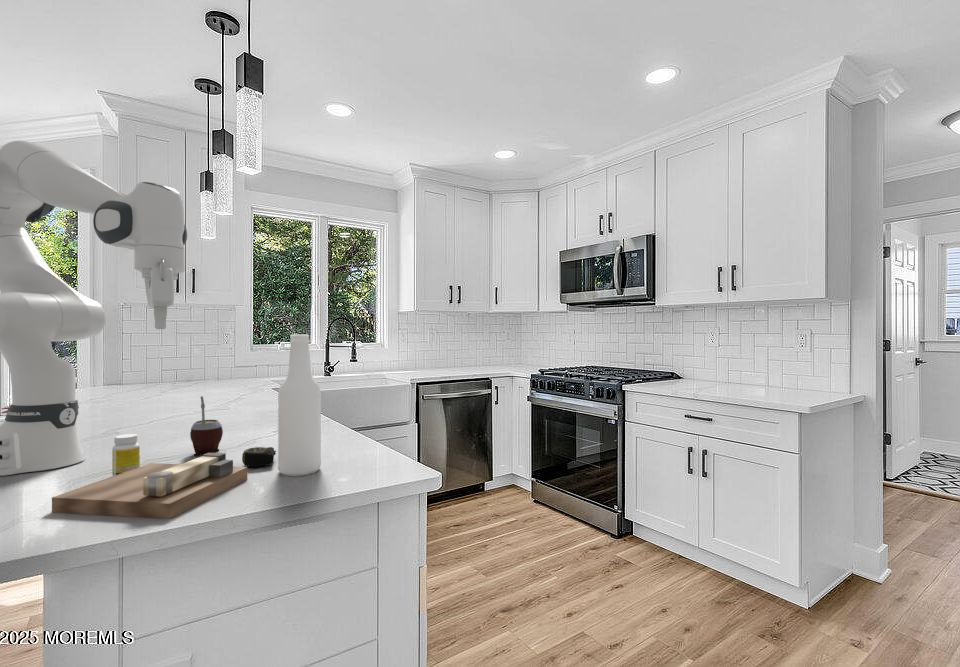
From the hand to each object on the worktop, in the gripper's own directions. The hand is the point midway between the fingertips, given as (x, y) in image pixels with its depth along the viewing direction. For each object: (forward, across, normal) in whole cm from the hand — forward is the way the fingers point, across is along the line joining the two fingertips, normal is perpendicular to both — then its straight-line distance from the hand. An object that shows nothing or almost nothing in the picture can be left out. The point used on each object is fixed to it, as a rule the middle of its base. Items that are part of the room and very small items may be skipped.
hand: (160, 329), depth 105 cm
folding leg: (+28, -16, -3) cm, 33 cm away
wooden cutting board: (+31, -11, +1) cm, 33 cm away
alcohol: (+31, -11, -25) cm, 42 cm away
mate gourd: (+31, +18, -10) cm, 37 cm away
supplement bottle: (+31, +7, +6) cm, 33 cm away
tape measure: (+32, 0, -20) cm, 37 cm away
